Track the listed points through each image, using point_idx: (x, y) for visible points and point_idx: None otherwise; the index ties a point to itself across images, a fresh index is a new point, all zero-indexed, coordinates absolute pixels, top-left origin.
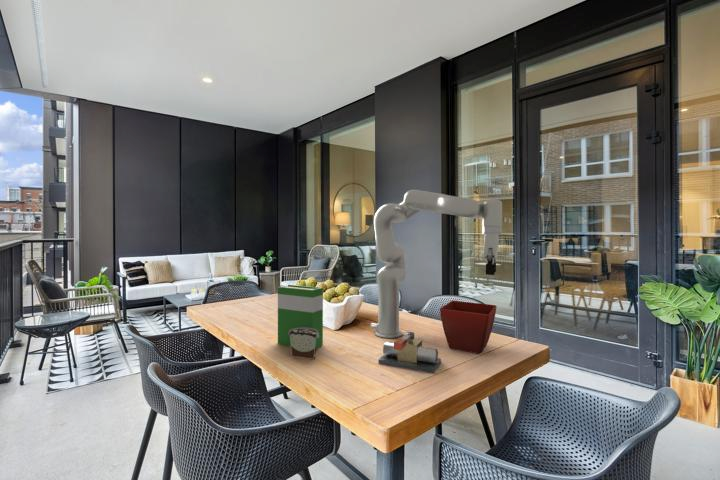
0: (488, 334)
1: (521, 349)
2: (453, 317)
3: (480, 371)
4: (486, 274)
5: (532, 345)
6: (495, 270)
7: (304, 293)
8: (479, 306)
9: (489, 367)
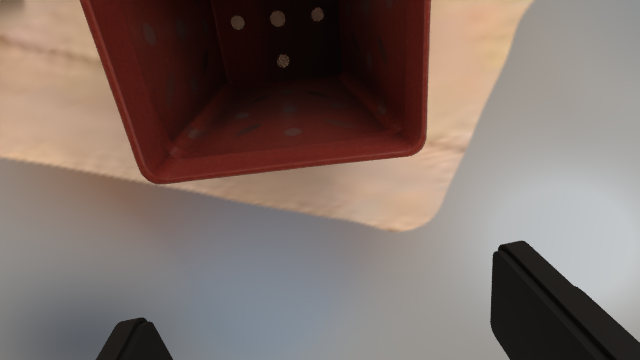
0: (293, 109)
1: (363, 183)
2: None
3: (71, 136)
4: (124, 325)
5: (425, 201)
6: (504, 348)
7: None
8: (416, 43)
9: (126, 148)
